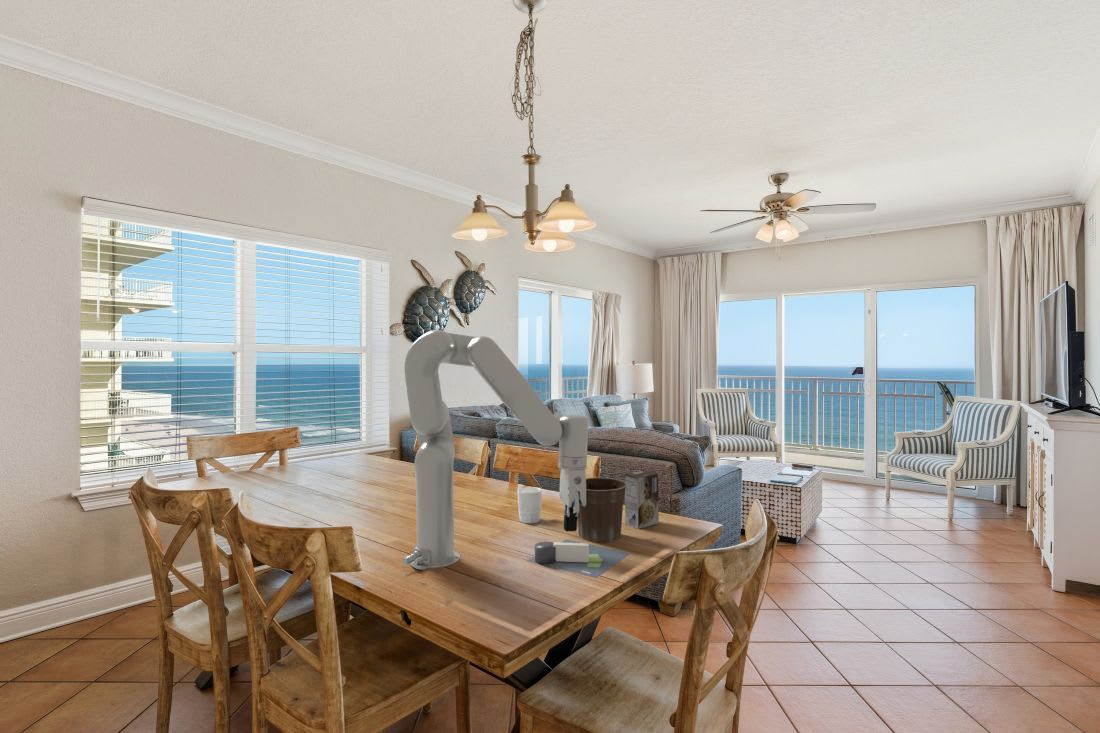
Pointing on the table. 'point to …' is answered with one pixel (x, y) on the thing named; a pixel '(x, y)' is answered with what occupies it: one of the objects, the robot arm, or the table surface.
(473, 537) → the table surface
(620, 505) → the plant pot
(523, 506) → the white cup
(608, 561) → the board
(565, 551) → the peg dial
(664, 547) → the table surface
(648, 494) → the coffee box
